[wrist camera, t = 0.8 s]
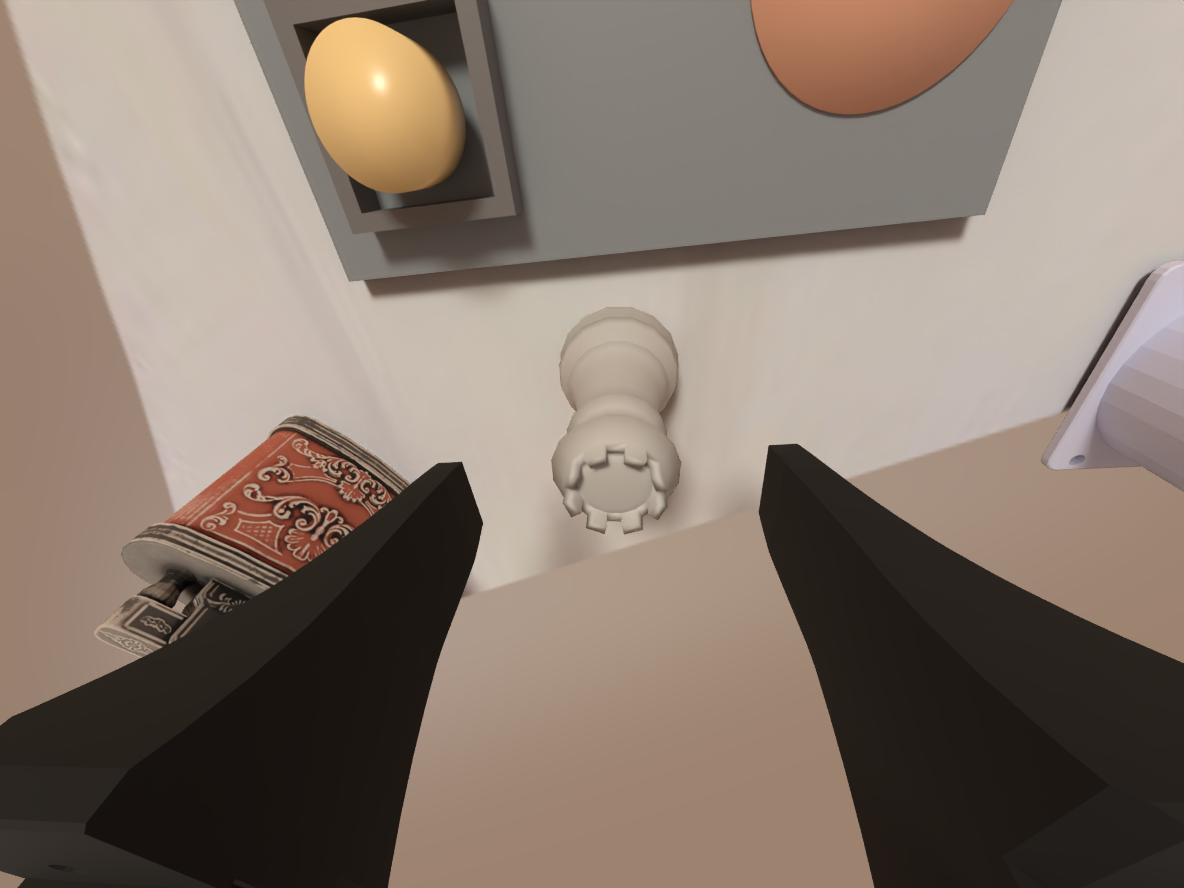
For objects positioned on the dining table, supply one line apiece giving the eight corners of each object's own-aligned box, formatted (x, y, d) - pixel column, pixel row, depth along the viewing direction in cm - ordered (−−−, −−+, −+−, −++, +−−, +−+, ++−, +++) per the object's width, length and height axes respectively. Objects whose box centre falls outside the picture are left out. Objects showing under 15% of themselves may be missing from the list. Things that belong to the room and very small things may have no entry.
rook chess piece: (682, 400, 17) (718, 551, 11) (576, 417, 18) (549, 568, 12) (669, 290, 15) (705, 398, 8) (547, 315, 16) (493, 431, 9)
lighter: (266, 441, 20) (14, 643, 12) (300, 400, 19) (40, 597, 10) (409, 536, 23) (289, 749, 15) (447, 508, 22) (337, 725, 13)
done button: (445, 24, 10) (417, 5, 9) (479, 182, 12) (461, 185, 11) (321, 46, 10) (277, 30, 9) (372, 195, 12) (342, 200, 11)
